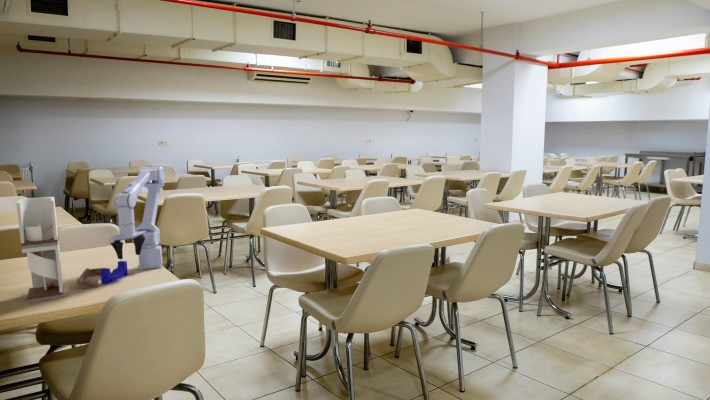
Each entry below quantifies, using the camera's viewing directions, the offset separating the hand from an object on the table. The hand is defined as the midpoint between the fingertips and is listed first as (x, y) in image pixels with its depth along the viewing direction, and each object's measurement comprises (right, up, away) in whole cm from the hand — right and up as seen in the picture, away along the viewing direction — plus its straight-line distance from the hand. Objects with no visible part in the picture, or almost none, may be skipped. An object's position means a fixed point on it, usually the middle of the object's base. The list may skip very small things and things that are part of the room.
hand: (129, 256), depth 200 cm
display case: (-21, -12, -20) cm, 31 cm away
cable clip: (-6, -9, -1) cm, 11 cm away
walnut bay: (-13, -9, -3) cm, 16 cm away
